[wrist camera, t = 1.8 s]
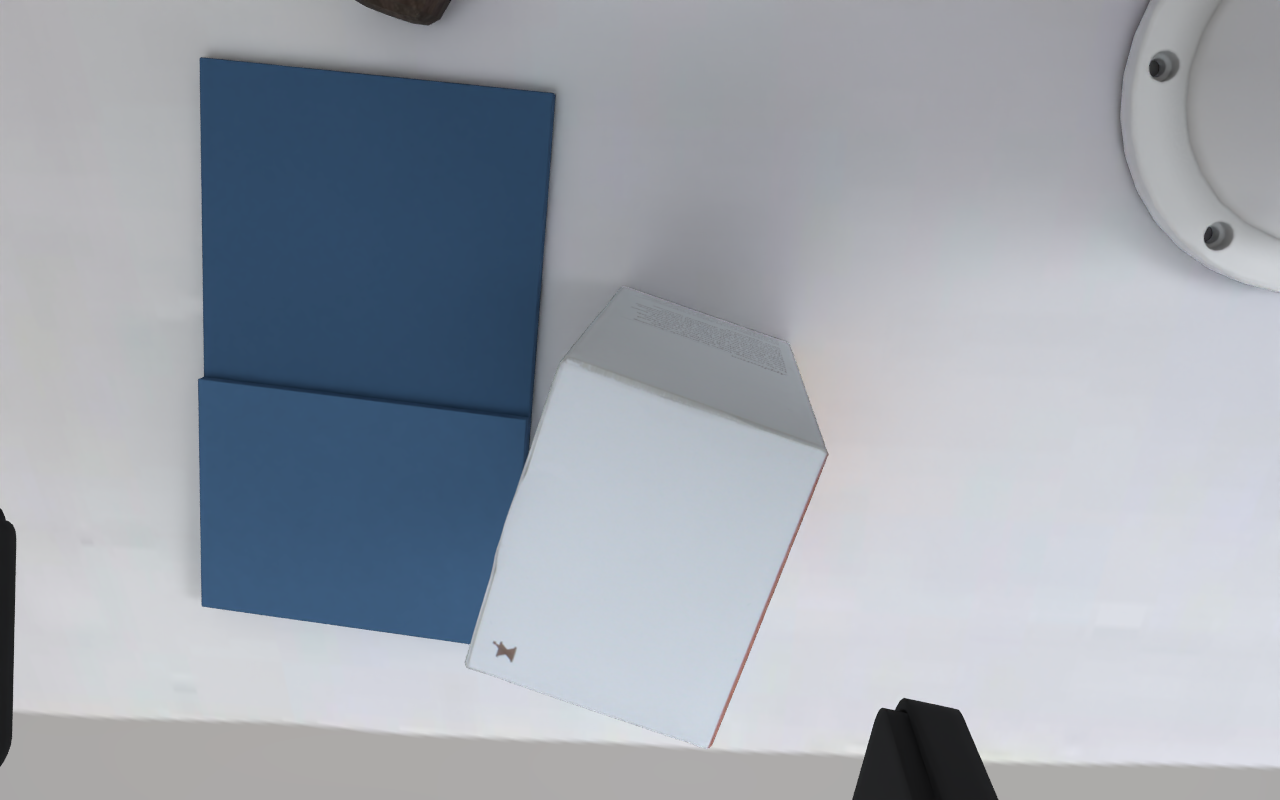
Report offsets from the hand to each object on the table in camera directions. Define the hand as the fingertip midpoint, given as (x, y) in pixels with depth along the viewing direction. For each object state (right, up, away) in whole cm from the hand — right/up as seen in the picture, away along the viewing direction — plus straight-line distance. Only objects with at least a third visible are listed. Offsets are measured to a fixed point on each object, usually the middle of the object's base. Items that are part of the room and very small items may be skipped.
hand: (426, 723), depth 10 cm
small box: (+3, +3, +24) cm, 25 cm away
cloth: (-7, +5, +25) cm, 26 cm away
